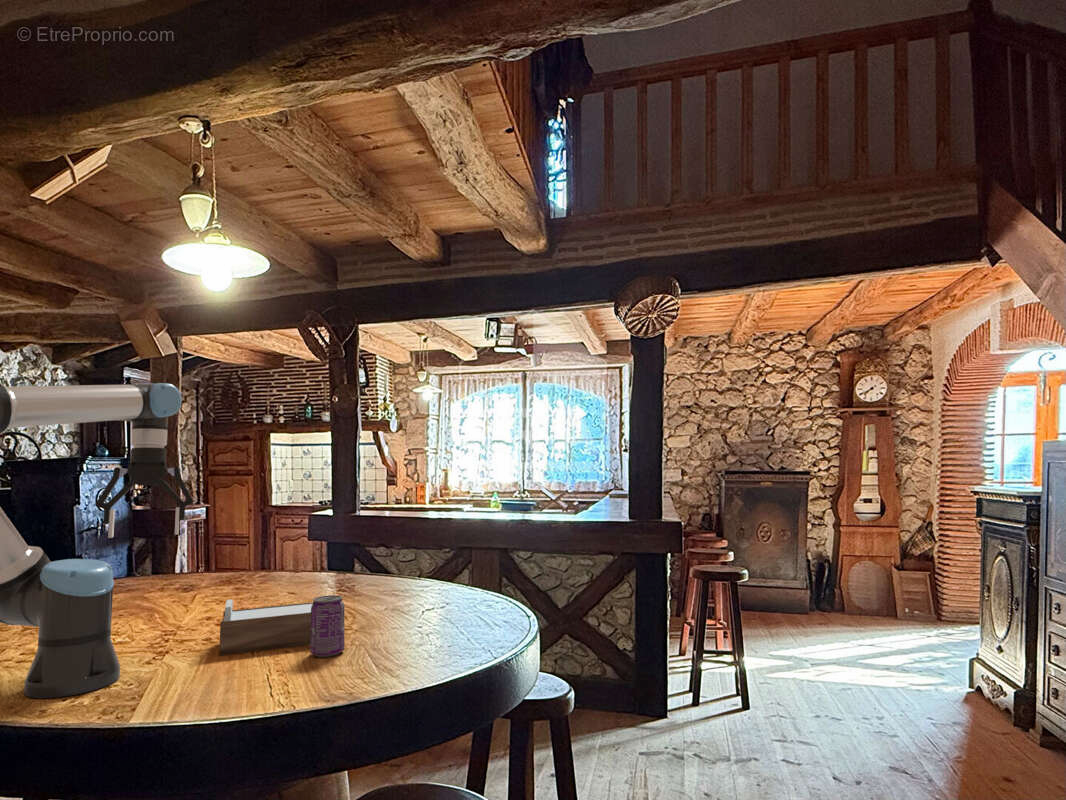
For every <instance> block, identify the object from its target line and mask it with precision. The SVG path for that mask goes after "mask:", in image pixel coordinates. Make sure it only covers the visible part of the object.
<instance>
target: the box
mask: <svg viewBox="0 0 1066 800" xmlns="http://www.w3.org/2000/svg"><path fill="white" fill-rule="evenodd" d="M313 602H314V601H312V602H311V601H310V602H303V603H301V602H300V603H292V604H282V605H272V606H263V607H262V606H261V607H252V608H241V609H233V612H234V611H244V610H254V609H264V608H274V607H284V606H294V605H304V604H313ZM222 616H223V617H222V620H221V621H220V622H219V656H221V657H222V656H228V655H237V654H244V653H252V652H261V651H269V650H276V649H277V650H279V649H285V648H292V647H301V646H302V647H303V646H311V612H309V613H300V614H290V615H281V616H271V617H261V618H252V619H242V620H233V621H223V620H224V617H225V610H223V615H222Z"/></svg>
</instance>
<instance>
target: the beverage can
mask: <svg viewBox="0 0 1066 800" xmlns="http://www.w3.org/2000/svg"><path fill="white" fill-rule="evenodd" d="M312 599H313V600H312V602H313V605H312V607H311V645H310V654H311V655H313V656H315V657H317V658H330V657H335V656H337V655H339V654H340V653H341V652H343V651H344V650H345V603H344V601H343V596H342V595H335V594H333V595H331V594H330V595H322V596H316V597H314V598H312Z"/></svg>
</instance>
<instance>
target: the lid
mask: <svg viewBox="0 0 1066 800" xmlns="http://www.w3.org/2000/svg"><path fill="white" fill-rule="evenodd" d="M233 602H234V599H227V600H226V603H225V606H224V611H225V617H224V620H223V619H222V620H223V621H233V620H242V619H252V618H261V617H271V616H281V615H290V614H300V613H309V612H311V607H312V605H313V604H304V605H294V606H284V607H274V608H264V609H254V610H244V611H234V612H233V610H234V607H233V606H234V604H233Z"/></svg>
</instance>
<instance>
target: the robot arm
mask: <svg viewBox="0 0 1066 800" xmlns="http://www.w3.org/2000/svg"><path fill="white" fill-rule="evenodd" d="M182 399H183V398H182V394H181V391H180V390H179V388H177V387H176V386H175V385H174V384H172V383H161V382H157V383H156V382H155V383H152V382H151V383H149V382H147V383H146V382H145V383H144V382H142V383H137V384H90V385H89V384H88V385H85V384H83V385H81V384H80V385H79V384H78V385H33V386H32V385H28V386H23V385H21V386H6V385H5V384H3V383H2V382H0V435H2V434H4V433H5V432H6V431H7V430H8V429H13V428H29V427H40V426H54V425H57V426H58V425H66V424H67V425H68V424H70V425H71V424H83V423H95V422H96V423H97V422H109V421H122V422H124V421H125V422H131V424H132V425H131V439H130V440H131V443H130V445H131V446H132V447H133V448H131V449H130V459H129V466H128V468H122V467H119V466H116V467H115V468H114V469H113V473H112V477H111V479H110V480H109V482H108V483H107V485H106V487H104V489H103V491H102V493H101V494H100V496H99V497H98V499H97V501H96V502H95V503H94V504H95V505H94V506H95V507H97V508H101V509H103V523H104V524H108V534H107V535H108V536H107V538H108V539H110V538H111V539H113V538H114V535H115V533H114V532H115V530H114V529H115V516H116V509H115V508H112V507H114V506H115V505H116V504H117V503H118V502H119V501H120V500H121V499H122V498H123V497H124V496H125V495H126V494H127V493H128V492H129V491H130V490H131V489H132V488H133V487H134V486H135V485H137V486H139V487H140V486H141V487H142V486H144V487H145V486H151V487H153V486H156V485H159V486H160V487H161V488H162V489H163V490H164V491H165V492H166V493H167V494H168V495H169V497H171V498H172V500H174V501H175V502H176V504H177V505H178V506H176V507H175V516H174V517H175V519H174V522H175V523H174V524H175V525H174V536H176V535H179V532H180V521H184V519H185V518H186V517H185V514H186V506H189V505H192V504H194V499H193V497H192V495H191V493H190V491H189V489H188V488H187V486H186V483H185V482H184V480H183V478H182V476H181V468H180V467H179V466H175V467H167V449H166V448H165V447H166V446H167V445H168V429H169V428H168V423H169V417H171V416H174V415H176V414H177V413H178V412H179V410H180V409H181V407H182V402H183V401H182ZM168 473H169V474H170V476H172V477H174V480H175V482H176V483H177V485H178V486H179V488H180V490H181V493H182V494H183V496H184V498H185V500H183V499H182V498H181V497H180V496H179V495H178V494H177V493H176V491H175V490H174V489H173V488H172V487H171V486H170V485H169V484H168V483H167V482H166V481H165V480H164V477H165V476H166V475H167V474H168ZM125 474H127V475H128V476H129V478H130V480H129V481H128V482H127V483H126V484H125V485H124V486H123V487H122V488H121V489H120V490H119V491H118V492H117V493H116V494H115V495H114V496H113V497H112V498H111V499H110V500H108V502H106V500H107V499H108V497H109V496H110V494H111V492H112V491H113V490H114V487H116V485H117V483H118V482H119V479H120V478H122V477H124V476H125ZM114 585H115V580H114V571H113V568H112V566H111V564H109V563H108V562H106V561H103V560H99V559H91V558H86V559H85V558H84V559H83V558H67V559H60V560H54V561H51V560H50V559H49V556H48V555H47V554H46V553H45V551H44V550H43V549H42V548H41V547H40V546H33V545H28V544H27V543H26V541H25V540H24V538H23V537H22V535H21V534H20V533H19V531H18V530H17V528H16V527H15V525H14V524H13V523H12V521H11V519H10V518H9V517H8V516H7V514H6V513H5V511H4V510H3V509H2V507H1V506H0V623H1V624H5V625H8V626H9V625H10V626H26V627H36V628H37V627H38V639H37V640H38V641H37V650H36V653H35V655H34V658H33V661H32V662H31V666H30V668H29V670H28V672H27V675H26V677H25V679H24V685H23V686H24V687H23V694H25V695H26V697H27V696H29V697H28V698H31V697H34V698H33V699H51V698H52V699H53V698H54V699H55V698H63V697H69V696H74V695H80V694H84V693H88V692H92V691H95V690H98V689H102V688H104V687H107V686H110V685H111V684H113V683H116V681H118V680H119V679H120V677H121V675H120V674H121V665H120V662H119V658H118V655H117V653H116V650H115V647H114V645H113V644H114V643H113V641H112V637H111V635H112V617H113V616H112V615H113V598H114V597H113V595H114ZM25 695H24V696H25Z"/></svg>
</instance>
